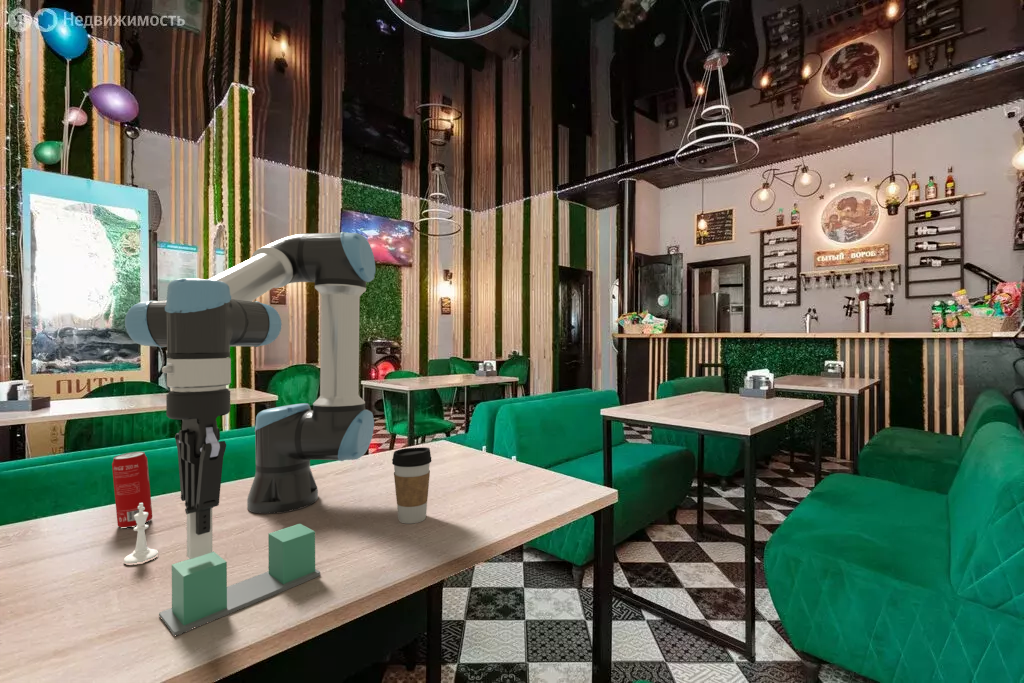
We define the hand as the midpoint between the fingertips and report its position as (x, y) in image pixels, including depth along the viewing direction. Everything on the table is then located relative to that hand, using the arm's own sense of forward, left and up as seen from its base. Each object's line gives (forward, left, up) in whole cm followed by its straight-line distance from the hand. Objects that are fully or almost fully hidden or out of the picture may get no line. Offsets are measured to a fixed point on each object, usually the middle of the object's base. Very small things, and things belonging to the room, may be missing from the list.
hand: (199, 553), depth 65 cm
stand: (0, +6, -9) cm, 10 cm away
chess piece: (-27, -1, -9) cm, 28 cm away
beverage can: (-48, +2, -9) cm, 49 cm away
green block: (0, 0, -8) cm, 8 cm away
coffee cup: (-4, +41, -9) cm, 42 cm away
